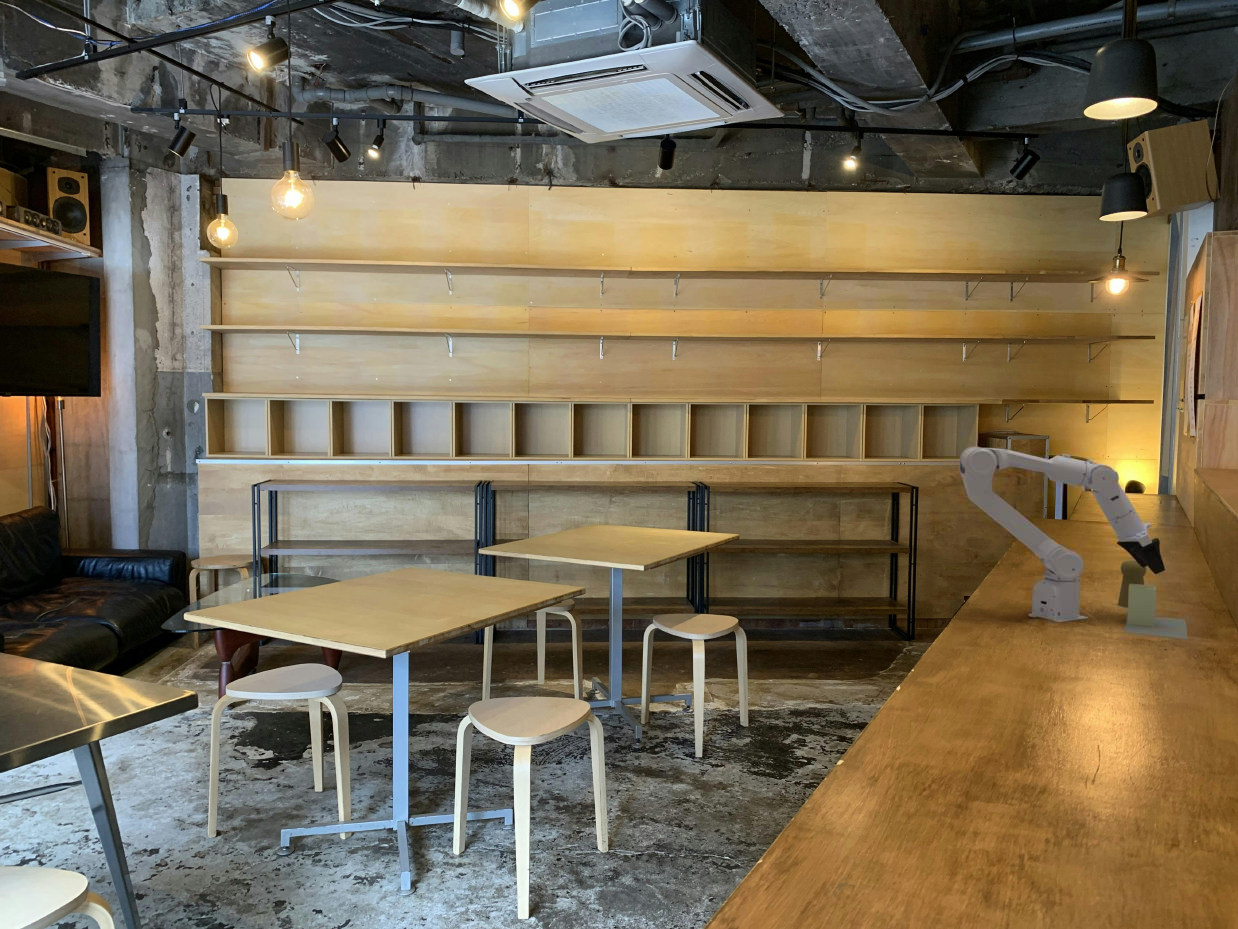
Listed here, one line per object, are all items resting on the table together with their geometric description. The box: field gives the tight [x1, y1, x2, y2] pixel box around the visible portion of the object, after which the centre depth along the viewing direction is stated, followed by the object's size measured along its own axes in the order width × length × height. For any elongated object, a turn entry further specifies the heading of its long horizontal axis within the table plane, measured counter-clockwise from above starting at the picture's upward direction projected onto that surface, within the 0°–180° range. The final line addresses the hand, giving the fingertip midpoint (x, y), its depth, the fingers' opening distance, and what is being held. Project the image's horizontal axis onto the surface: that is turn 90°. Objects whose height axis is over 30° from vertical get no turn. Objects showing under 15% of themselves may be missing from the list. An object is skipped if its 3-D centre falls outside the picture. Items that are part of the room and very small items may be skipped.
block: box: [1127, 584, 1157, 627], centre depth 189 cm, size 4×5×8 cm
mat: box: [1123, 612, 1189, 641], centre depth 188 cm, size 20×11×1 cm, turn 149°
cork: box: [1117, 560, 1148, 609], centre depth 207 cm, size 6×6×11 cm
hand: (1153, 568), depth 193 cm, fingers open, 7 cm apart
